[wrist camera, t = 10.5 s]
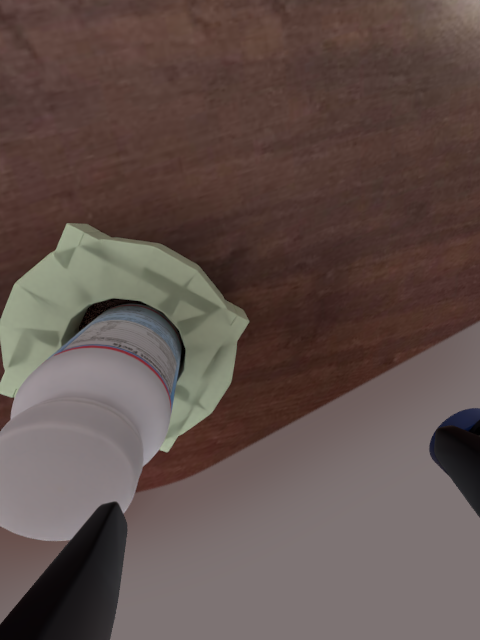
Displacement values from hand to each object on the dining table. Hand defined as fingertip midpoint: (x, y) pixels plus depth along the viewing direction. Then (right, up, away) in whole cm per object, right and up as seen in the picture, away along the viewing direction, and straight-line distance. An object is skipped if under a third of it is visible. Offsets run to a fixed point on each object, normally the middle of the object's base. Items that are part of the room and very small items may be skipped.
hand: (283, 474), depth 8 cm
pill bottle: (-8, +3, +12) cm, 14 cm away
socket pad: (-8, +3, +11) cm, 14 cm away
